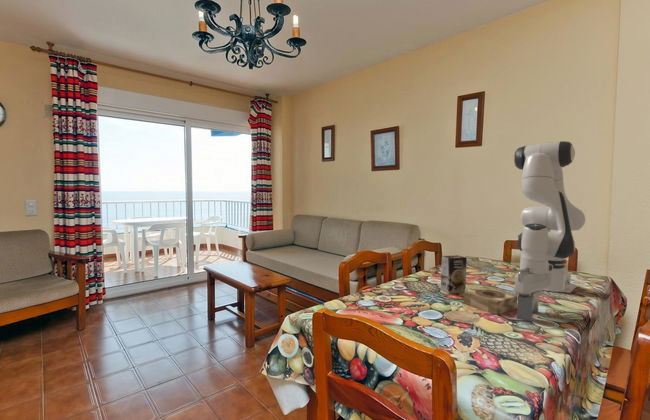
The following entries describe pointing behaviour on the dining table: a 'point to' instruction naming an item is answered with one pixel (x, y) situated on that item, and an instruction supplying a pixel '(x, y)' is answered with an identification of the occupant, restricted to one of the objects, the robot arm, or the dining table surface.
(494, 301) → the bore block
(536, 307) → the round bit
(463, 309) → the dining table surface
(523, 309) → the square bit
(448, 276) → the coffee box
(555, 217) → the robot arm
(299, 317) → the dining table surface
